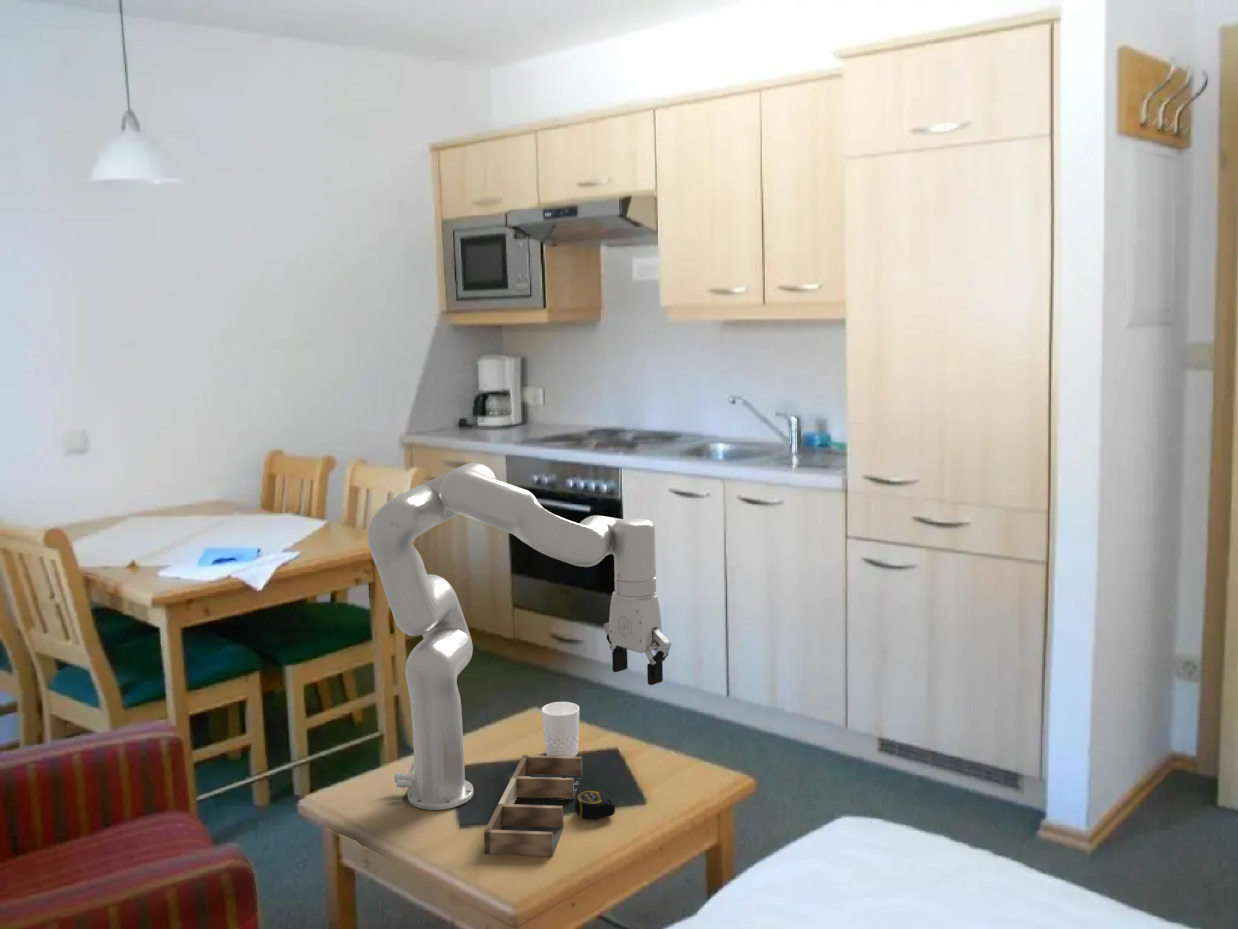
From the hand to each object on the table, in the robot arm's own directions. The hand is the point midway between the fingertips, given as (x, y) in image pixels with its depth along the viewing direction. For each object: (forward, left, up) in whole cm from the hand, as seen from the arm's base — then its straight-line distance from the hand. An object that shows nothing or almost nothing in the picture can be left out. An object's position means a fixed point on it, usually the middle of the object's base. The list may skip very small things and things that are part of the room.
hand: (637, 676), depth 210 cm
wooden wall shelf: (-19, -3, -26) cm, 32 cm away
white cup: (-19, +24, -26) cm, 40 cm away
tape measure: (-8, -3, -26) cm, 28 cm away
